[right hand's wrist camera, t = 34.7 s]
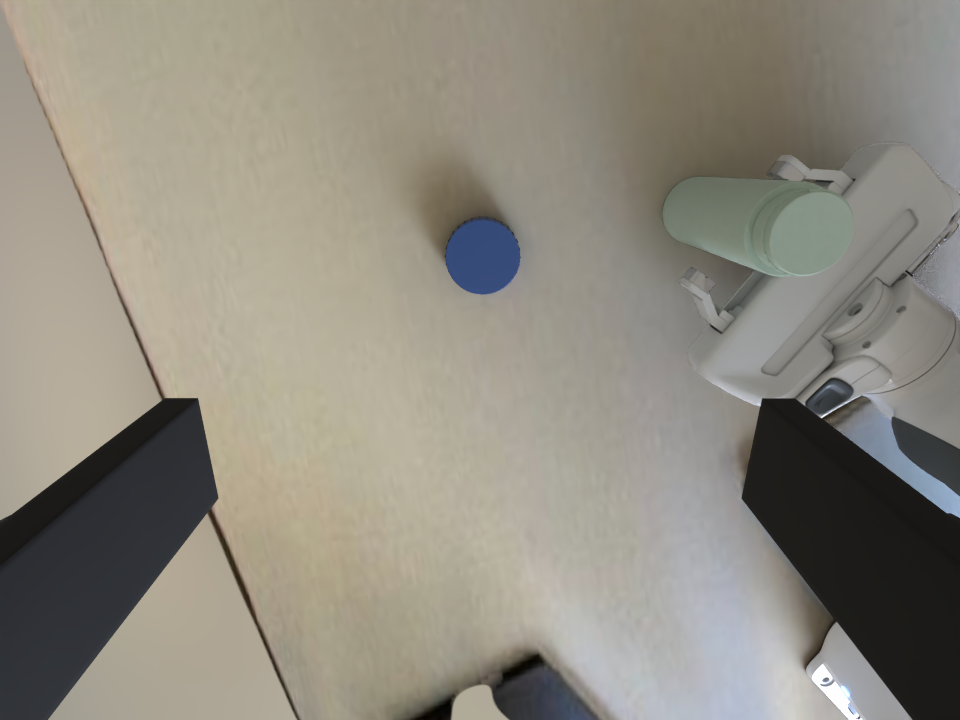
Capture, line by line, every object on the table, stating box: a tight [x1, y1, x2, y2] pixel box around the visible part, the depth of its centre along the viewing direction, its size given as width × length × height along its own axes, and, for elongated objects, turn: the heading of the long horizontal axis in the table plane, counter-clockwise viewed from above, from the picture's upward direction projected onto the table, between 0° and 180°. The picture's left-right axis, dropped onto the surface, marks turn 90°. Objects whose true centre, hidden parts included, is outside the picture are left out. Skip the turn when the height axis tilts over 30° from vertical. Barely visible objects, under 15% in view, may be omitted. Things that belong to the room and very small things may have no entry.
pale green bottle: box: [662, 176, 854, 277], centre depth 37 cm, size 5×5×17 cm
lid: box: [445, 217, 520, 294], centre depth 45 cm, size 6×6×2 cm
